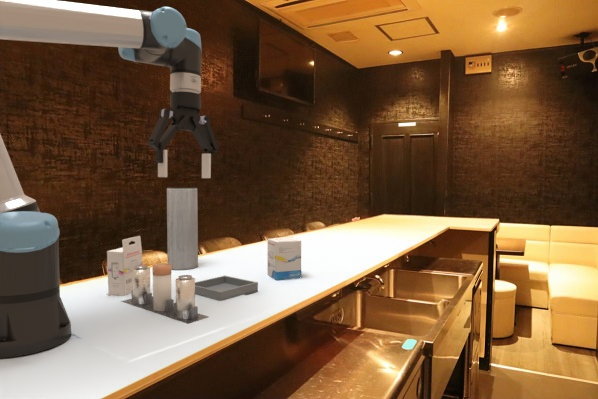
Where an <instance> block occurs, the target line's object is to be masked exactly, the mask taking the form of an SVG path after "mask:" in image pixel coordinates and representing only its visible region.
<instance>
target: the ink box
mask: <svg viewBox="0 0 598 399" xmlns="http://www.w3.org/2000/svg"><path fill="white" fill-rule="evenodd" d="M267 276H269V277H270V278H272V279H274V280H276V281H280V280H292V278H295V279H301V278H302V240H300V239H298V238H294V237H293V236H292V237H290V236H289V237H288V236H287V237H285V236H283V237H274V238H267ZM300 277H301V278H300Z"/></svg>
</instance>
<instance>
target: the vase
mask: <svg viewBox="0 0 598 399" xmlns="http://www.w3.org/2000/svg"><path fill="white" fill-rule="evenodd" d="M198 200H199V198H198V188H197V187H167V188H166V225H167V226H166V229H167V232H166V234H167V235H166V237H167V242H166V244H167V245H166V246H167V247H166V248H167V263H169V264H171V270H174V271H175V270H178V271H180V270H182V271H184V270H191V269H196V268H197V267H199V243H198V242H199V236H198V235H199V233H198V232H199V231H198V230H199V229H198V228H199V227H198V225H199V224H198V222H199V221H198V220H199V219H198V217H199V216H198V214H199V213H198V208H199V206H198V205H199V204H198Z"/></svg>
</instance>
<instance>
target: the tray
mask: <svg viewBox="0 0 598 399" xmlns="http://www.w3.org/2000/svg"><path fill="white" fill-rule="evenodd" d="M258 292H259V283H258V281H253V280H248V279H242V278H238V277H234V276H229V275H222V276H217V277H211V278H209V279H208V278H207V279H204V280H200V281H195V296H198V297H199V296H200V297H204V298H208V299H211V300H215V301H220V302H222V301H225V300H229V299H232V298H233V299H234V298H237V297H240V296H247V295H250V294H255V293H258Z"/></svg>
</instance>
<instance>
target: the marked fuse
mask: <svg viewBox="0 0 598 399" xmlns="http://www.w3.org/2000/svg"><path fill="white" fill-rule="evenodd" d="M151 267H152V296H153V310H154V311H166V301H167V300H171V299H173V298H172V269H171V264H169V263H168V262H167V263H164V262H163V263H162V262H160V263H155V264H152V266H151Z"/></svg>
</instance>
